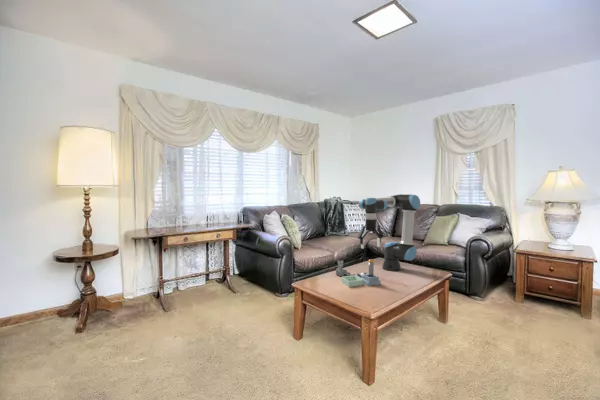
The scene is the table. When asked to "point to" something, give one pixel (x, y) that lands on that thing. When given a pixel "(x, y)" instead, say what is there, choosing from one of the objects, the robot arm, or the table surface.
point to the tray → (351, 281)
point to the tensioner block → (369, 279)
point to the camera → (342, 270)
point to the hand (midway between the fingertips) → (370, 247)
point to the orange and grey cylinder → (371, 268)
